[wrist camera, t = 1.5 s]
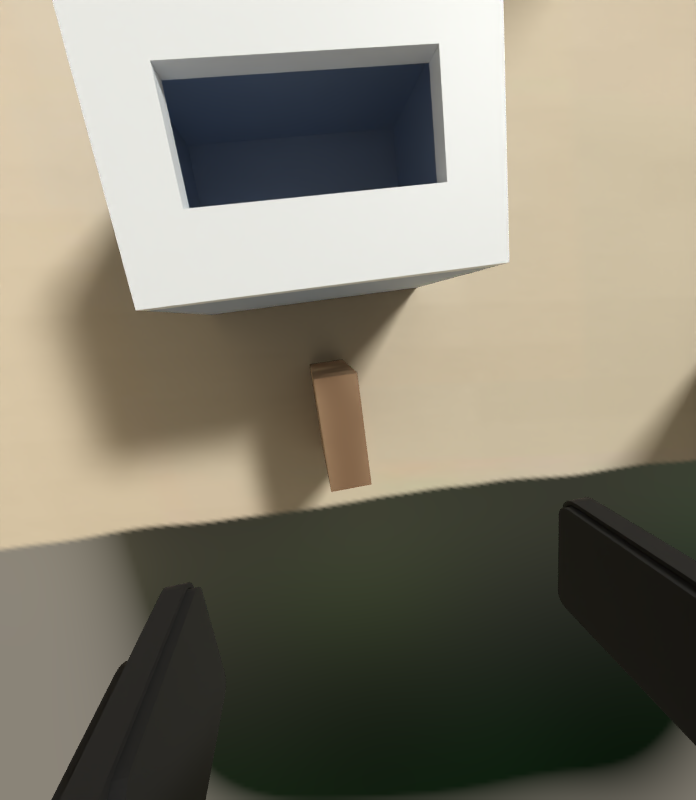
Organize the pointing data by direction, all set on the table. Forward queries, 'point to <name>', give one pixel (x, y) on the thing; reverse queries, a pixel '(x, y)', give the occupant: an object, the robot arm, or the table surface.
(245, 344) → the table surface
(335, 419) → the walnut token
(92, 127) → the box
